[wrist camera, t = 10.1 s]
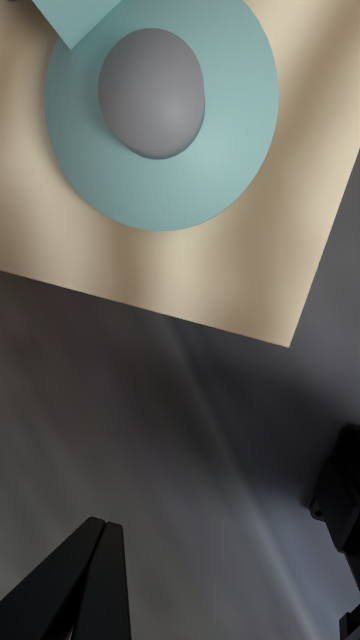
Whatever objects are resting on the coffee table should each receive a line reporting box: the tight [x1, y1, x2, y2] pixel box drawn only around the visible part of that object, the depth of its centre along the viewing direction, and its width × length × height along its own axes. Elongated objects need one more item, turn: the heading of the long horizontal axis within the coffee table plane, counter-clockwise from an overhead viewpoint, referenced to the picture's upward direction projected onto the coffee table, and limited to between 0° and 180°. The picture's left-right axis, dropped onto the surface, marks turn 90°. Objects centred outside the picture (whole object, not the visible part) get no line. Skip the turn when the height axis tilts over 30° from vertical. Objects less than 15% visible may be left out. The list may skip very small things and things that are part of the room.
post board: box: [0, 0, 360, 347], centre depth 15 cm, size 18×18×5 cm
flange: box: [32, 0, 279, 231], centre depth 13 cm, size 16×10×5 cm, turn 36°
